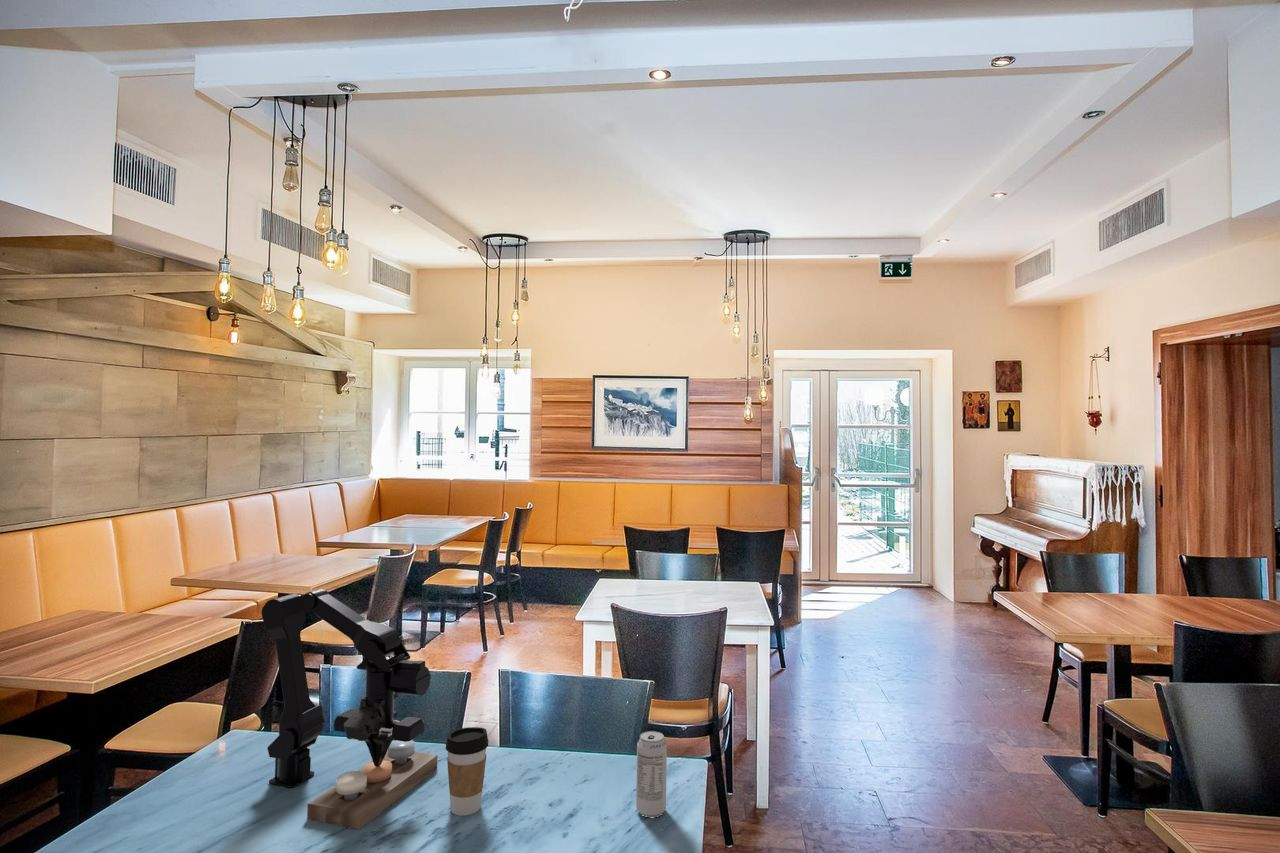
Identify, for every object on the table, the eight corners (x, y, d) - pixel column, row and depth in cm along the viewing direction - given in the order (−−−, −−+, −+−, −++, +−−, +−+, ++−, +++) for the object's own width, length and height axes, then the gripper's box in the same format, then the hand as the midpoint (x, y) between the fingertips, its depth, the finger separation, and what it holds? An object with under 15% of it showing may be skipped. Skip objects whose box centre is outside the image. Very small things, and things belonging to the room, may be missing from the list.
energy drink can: (669, 807, 138) (670, 732, 138) (660, 822, 132) (661, 744, 133) (641, 801, 140) (642, 728, 140) (631, 816, 134) (632, 739, 135)
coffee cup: (476, 821, 131) (477, 743, 132) (436, 816, 133) (438, 738, 134) (493, 800, 140) (495, 726, 140) (456, 795, 141) (457, 722, 142)
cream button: (329, 807, 133) (330, 781, 133) (349, 793, 138) (349, 769, 138) (353, 812, 131) (354, 786, 131) (372, 798, 137) (373, 773, 137)
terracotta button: (356, 795, 140) (357, 770, 141) (374, 782, 146) (375, 758, 146) (379, 799, 139) (380, 774, 139) (396, 786, 144) (397, 762, 144)
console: (307, 819, 131) (307, 803, 132) (391, 761, 156) (391, 747, 157) (359, 829, 128) (359, 813, 128) (437, 768, 153) (437, 755, 153)
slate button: (381, 771, 148) (382, 747, 148) (397, 760, 153) (398, 737, 154) (403, 774, 147) (404, 751, 147) (419, 763, 152) (419, 740, 152)
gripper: (315, 698, 138) (312, 776, 137) (393, 709, 133) (391, 790, 132) (352, 681, 149) (350, 753, 148) (426, 690, 143) (424, 765, 143)
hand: (377, 765), depth 142 cm, fingers closed
